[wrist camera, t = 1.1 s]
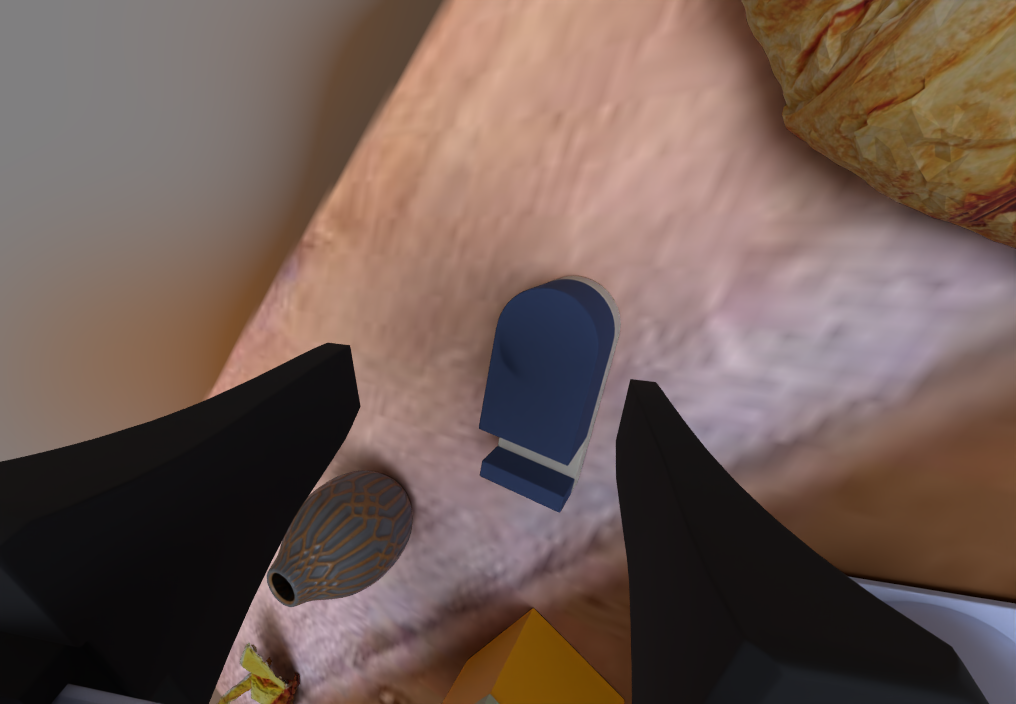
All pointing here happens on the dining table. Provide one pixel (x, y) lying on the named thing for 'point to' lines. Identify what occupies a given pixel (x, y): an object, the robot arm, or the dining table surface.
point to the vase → (342, 539)
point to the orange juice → (530, 670)
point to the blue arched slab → (547, 386)
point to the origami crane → (261, 682)
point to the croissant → (905, 98)
